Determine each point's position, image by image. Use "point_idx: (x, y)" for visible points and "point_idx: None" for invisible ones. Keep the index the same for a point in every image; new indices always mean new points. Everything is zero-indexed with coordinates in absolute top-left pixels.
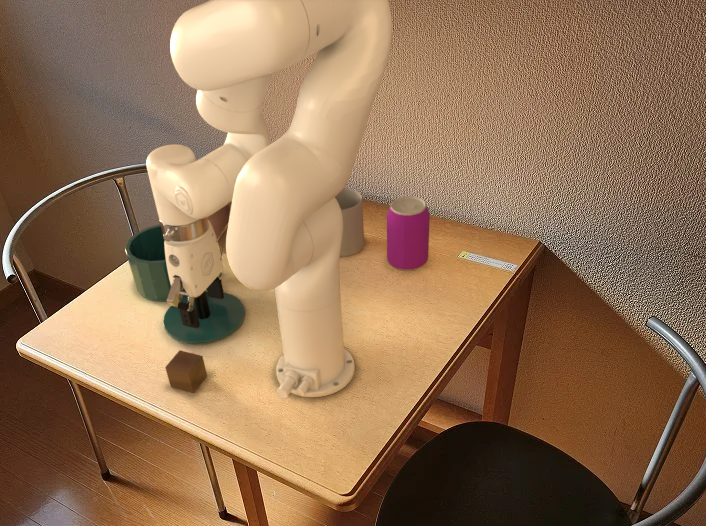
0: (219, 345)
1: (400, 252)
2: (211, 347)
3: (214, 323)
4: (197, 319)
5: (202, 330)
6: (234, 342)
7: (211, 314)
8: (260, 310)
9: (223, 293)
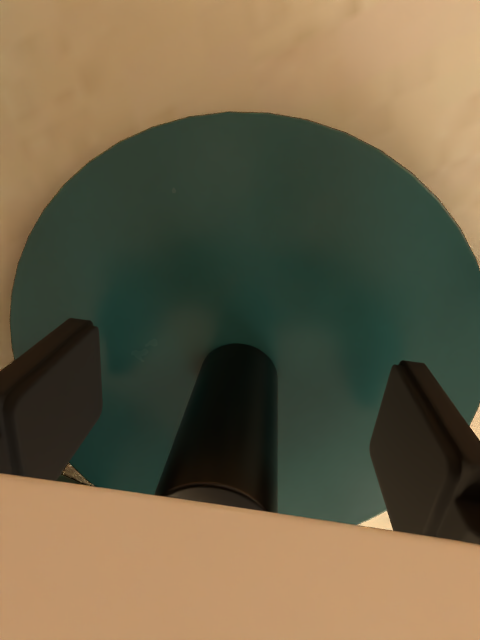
0: (454, 192)
1: None
2: (475, 235)
3: (304, 289)
4: (437, 395)
5: (381, 335)
6: (418, 99)
7: (222, 339)
8: (55, 55)
9: (59, 330)
